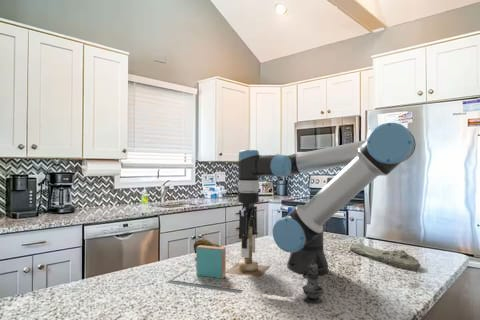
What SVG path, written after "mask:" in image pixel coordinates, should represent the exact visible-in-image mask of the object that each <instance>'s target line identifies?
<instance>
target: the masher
mask: <svg viewBox="0 0 480 320" xmlns="http://www.w3.org/2000/svg"><path fill="white" fill-rule="evenodd" d="M248 239H249V258H246V257H244V259H243V260H240V261H238V263H239V270H240V271H242V272H256V271H257V270H258V265H259V262H258V261H257V260H255V259H253V253H252V227H249V234H248Z"/></svg>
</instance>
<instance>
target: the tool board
mask: <svg viewBox="0 0 480 320" xmlns="http://www.w3.org/2000/svg"><path fill="white" fill-rule="evenodd" d="M270 267H271V266H270V265H262V264H258V270H257V271H256V272H242V271H240V270H239V262H237V263H236V264H234V265H233V266H232V267H230V268H229V269H228V270H226V274H232V275H239V276H241V275H242V276H249V277H254V278H255V277H256V278H261V277H262V276H263V275H264V274H265V272H267V270H268V269H269V268H270Z"/></svg>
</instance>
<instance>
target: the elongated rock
mask: <svg viewBox="0 0 480 320" xmlns="http://www.w3.org/2000/svg"><path fill="white" fill-rule="evenodd" d="M349 251H351V252H353V253H355V254H358V255H361V256H362V257H366V258H368V259H371V260H374V261H378V262H381V263H383V264H385V265H390V266H393V267H396V268H399V269H400V268H402V269H408V270H419V269H420V267H421V263H420V262H419V260H418V259H416V258H415V257H414V256H413V255H410V254H408V253H406V251H405V250H402V249H401V250H395V249H394V250H383V249H378V248H375V247H371V246H368V245H366V244H365V245H364V244H363V243H362V244H361V243H353V244H351V245H349Z"/></svg>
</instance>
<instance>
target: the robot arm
mask: <svg viewBox="0 0 480 320" xmlns="http://www.w3.org/2000/svg"><path fill="white" fill-rule="evenodd" d="M415 151H416V139H415V137H414V134H413V133H412V132H411V131H410V130H409V128H407V127H406V126H405V125H403V124H401V123H397V122H386V123H381V124H379V125H377V126H376V127H374V129H372V131H371V132H370V133H369V134H368V136H367V138H366V139H365V140H364V139H363V140H360V141H355V142H349V143H345V144H341V145H340V144H339V145H336V146H335V145H334V146H331V147H325V148H320V149H314V150H309V151H304V152H299V153H293V154H290V155H289V154H288V155H285V154H269V155H267V154H266V155H261V154H260V153H259V150H257V149H242V150H240V151H239V152H238V160H237V163H238V167H237V168H238V182H237V183H236V185H238V191H239V192H238V194H237V196H238V203H239V204H242V207H241V209H239V210H238V213H239V216H238V217H239V220H238V224H239V225H238V228H239V229H238V239H239V240H240V243H241V244H240V245H241V248H240V251H241V252H240V257H241V258H245V257H246V258H249V239H248V234H249V227H252V254H255V253H256V235H258V233H259V232H258V218H257V217H258V215H257V212H258V206H256V205H255V204H257V203H259V202H260V199H259V198H260V197H259V194H260V193H259V190H260V183H259V182H260V180H259V179H260V177H276V178H279V177H281V178H282V177H288V176H294V175H299V174H303V173H309V172H316V171H322V170H327V169H334V168H340V167H343V169H341V170H340V171H339V172H337V174H336V175H335V176H334V177H333V178H332V179H331V180H330V181H328V182H327V183H326V184H325V185H324V186H322V188H321V189H320V190H318V191H317V193H316V194H315V195H313V197H311V198H310V199H309V200H308V201H307V202H306V203H305V204H304V205H303V204H298V205H296V206H295V207H294V208H292V209H291V210H290V211H289V213H288V214H287V215H286V216H283V217H281V218H279V219H278V220H277V221H276V222H275V223H274V224H273V228H272V237H273V240H274V243H275V244H276V246H277V247H278V248H279V249H280V250H282V251H283V252H286V253H289V257H288V259H287V263H286V268H287V269H288V270H289V271H291V272H294V273H296V274H297V273H299V274H303V275H302V276H303V277H307V274H308V264H309V263H310V262H312V259H313V260H314V261H313V262H314V263H316V264H317V265H318V275H319V277H321V276H325V275H327V274H328V273H329V264H328V261H327V257H326V254H325V251H324V224H325V223H327V222H328V221H329V220H330V219H331V218H332V217H333V216H334V215H335V214H337V213H338V212H339V211H340V210H341V209H342V208H344V207H345V206H346V205H347V204H348V203H349V202H350V201H352V199H353V198H355V197H356V196H357V195H358V194H359V193H360V192H361V191H363V190H364V189H365V188H366V187H367V186H368V185H369V184H371V183H372V182H373V181H374V180H375V179H376V178H377V177H378V176H384V177H385V176H388V175H389V174H390V173H391V172H392V171H393V170H394V169H396V168H397V167H398V166H399V165H400V164H402V163H403V162H406V161H408V160H409V159H410V158H411V157H412V156H413V154H414V153H415Z"/></svg>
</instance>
